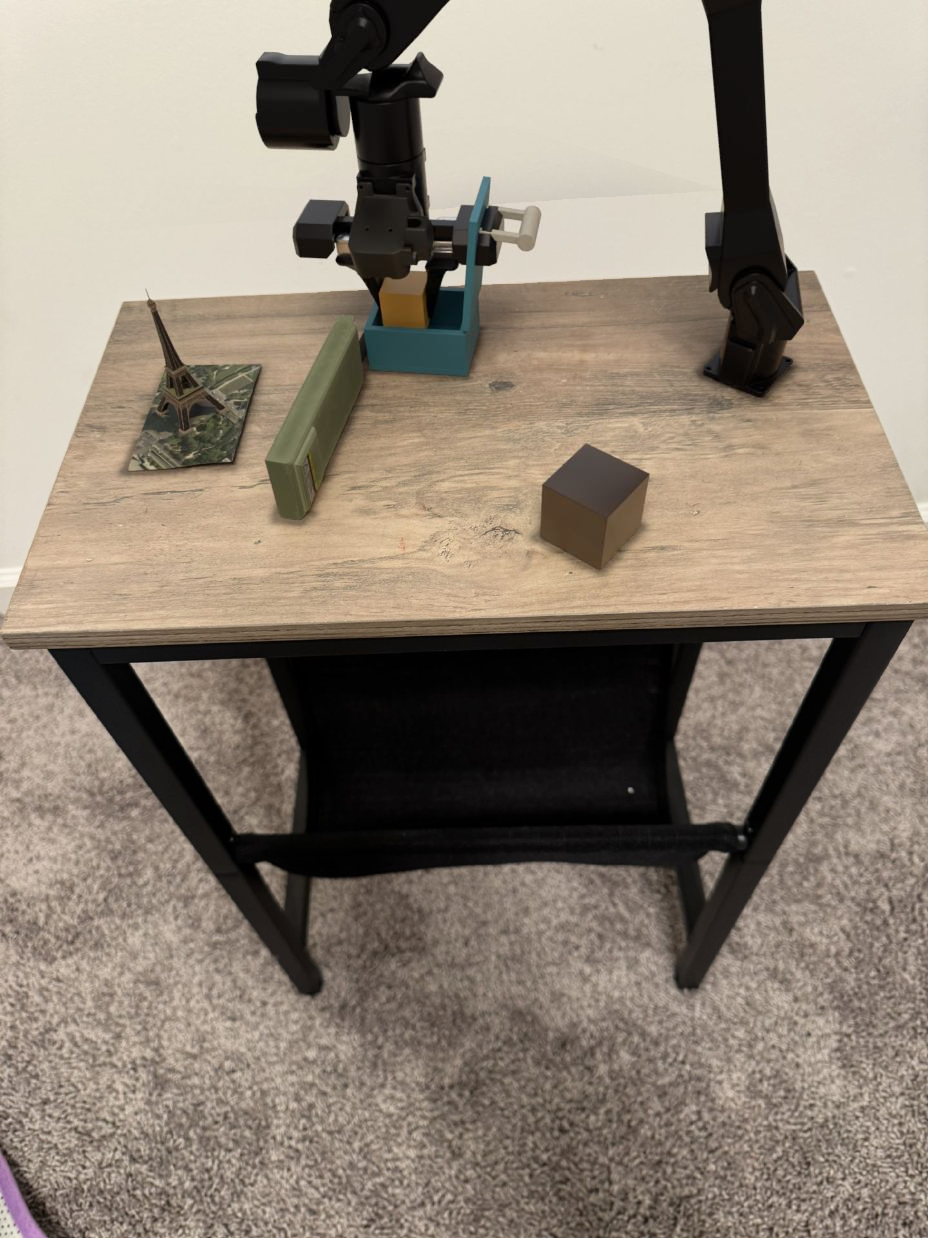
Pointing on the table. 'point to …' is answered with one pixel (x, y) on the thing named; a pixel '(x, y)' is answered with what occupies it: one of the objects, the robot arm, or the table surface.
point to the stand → (593, 505)
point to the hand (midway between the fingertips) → (408, 315)
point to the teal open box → (425, 340)
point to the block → (405, 301)
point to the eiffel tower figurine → (193, 411)
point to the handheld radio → (316, 420)
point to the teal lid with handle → (522, 239)
